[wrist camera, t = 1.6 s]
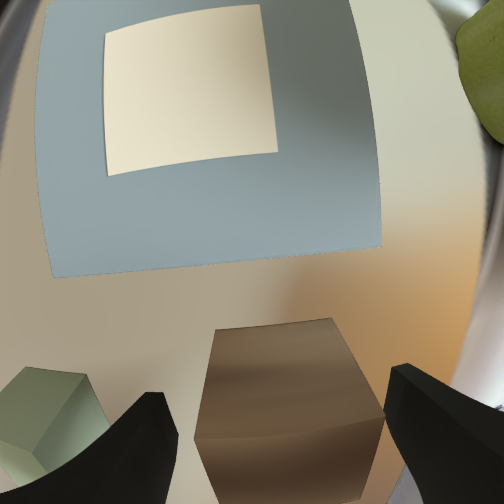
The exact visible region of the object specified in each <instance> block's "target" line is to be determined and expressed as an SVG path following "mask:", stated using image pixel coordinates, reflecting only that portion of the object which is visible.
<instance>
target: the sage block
mask: <svg viewBox="0 0 504 504" xmlns="http://www.w3.org/2000/svg"><path fill="white" fill-rule="evenodd" d="M110 427H111V425H110V424H109V422H108V420H107V418H106V416H105V414H104V412H103V410H102V408H101V405H100V403H99V401H98V399H97V397H96V395H95V392H94V390H93V388H92V386H91V383H90V381H89V379H88V377H87V374H83V373H72V372H63V371H54V370H47V369H40V368H33V367H25V368H24V369H23V370H22V371H21V372H20V373H19V374H18V375H17V376H16V377H15V378H14V379H13V380H12V381H11V382H10V383H9V384H8V385H7V386H6V387H5V388H4V389H3V390H2V391H1V392H0V466H1V467H2V468H3V469H4V471H5V472H6V473H7V474H8V475H9V476H10V477H11V479H12V480H13V481H14V482H15V483H16V484H17V485H18V486H19V487H21V486H23V485H26V484H28V483H31V482H33V481H35V480H37V479H39V478H41V477H43V476H44V475H46V474H48V473H50V472H52V471H54V470H56V469H57V468H59V467H60V466H62V465H64V464H65V463H67V462H68V461H70V460H71V459H72V458H74V457H75V456H77V455H78V454H79V453H81V452H82V451H83V450H84V449H86V448H87V447H88V446H89V445H90V444H91V443H93V442H94V441H95V440H96V439H97V438H99V437H100V436H101V435H102V434H103V433H104V432H105V431H106V430H108V429H109V428H110Z"/></svg>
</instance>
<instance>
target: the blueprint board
mask: <svg viewBox="0 0 504 504" xmlns="http://www.w3.org/2000/svg"><path fill="white" fill-rule="evenodd" d="M35 158H36V173H37V184H38V193H39V203H40V210H41V217H42V223H43V230H44V235H45V241H46V246H47V251H48V256H49V261H50V265H51V269H52V274H53V278H64V277H75V276H87V275H99V274H111V273H122V272H133V271H144V270H155V269H166V268H177V267H187V266H197V265H209V264H219V263H230V262H238V261H239V262H240V261H250V260H259V259H270V258H279V257H290V256H300V255H309V254H320V253H329V252H338V251H349V250H358V249H367V248H377V247H381V202H380V183H379V169H378V157H377V147H376V138H375V129H374V121H373V113H372V107H371V100H370V94H369V88H368V82H367V77H366V71H365V66H364V61H363V56H362V52H361V47H360V43H359V39H358V34H357V30H356V26H355V22H354V18H353V15H352V11H351V7H350V4H349V0H57V1H55V2H53V3H51V4H49V5H48V8H47V12H46V17H45V22H44V27H43V32H42V38H41V45H40V52H39V60H38V69H37V81H36V95H35Z"/></svg>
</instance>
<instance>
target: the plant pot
mask: <svg viewBox="0 0 504 504" xmlns="http://www.w3.org/2000/svg"><path fill="white" fill-rule="evenodd" d="M455 44H456V46H457V49H458V54H459V77H460V80H461V83H462V86H463V89H464V91H465V94H466V96H467V98H468V100H469V102H470V104H471V106H472V108H473V110H474V112H475V113H476V115H477V117H478V118H479V120H480V122H481V123H482V125H483V126H484V127H485V129H486V130H487V131H488V132H489V134H490V135H491V136H492V137H493V138H494V139H495V140H497V141H498V142H500V143H501V144H503V145H504V0H490V1H489V2H488V3H487V4H486V5H484V6H483V7H482V8H481V9H480V10H479V11H478V12H476V13H475V14H474V15H473V16H472V17H471V18H470V19H469V20H468V21H466V22H465V23H464V24H463V25H462V26H461V27H460V28H459V30H458V32H457V35H456V38H455Z"/></svg>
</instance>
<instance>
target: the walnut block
mask: <svg viewBox="0 0 504 504" xmlns="http://www.w3.org/2000/svg"><path fill="white" fill-rule="evenodd" d="M385 417H386V415H385V413H384V411H383V410H382V407H381V406H380V404H379V402H378V400H377V398H376V396H375V394H374V393H373V391H372V389H371V387H370V385H369V384H368V381H367V380H366V378H365V376H364V374H363V372H362V371H361V369H360V367H359V365H358V363H357V361H356V360H355V358H354V356H353V354H352V353H351V351H350V349H349V347H348V346H347V344H346V342H345V340H344V338H343V337H342V335H341V333H340V331H339V330H338V328H337V326H336V324H335V323H334V321H333V319H332V318H325V319H317V320H309V321H302V322H292V323H284V324H274V325H266V326H265V325H264V326H254V327H242V328H230V329H216V330H215V334H214V340H213V344H212V349H211V354H210V359H209V364H208V368H207V373H206V379H205V383H204V388H203V394H202V399H201V404H200V409H199V414H198V420H197V425H196V431H195V435H194V441H195V444H196V446H197V449H198V452H199V454H200V457H201V460H202V463H203V465H204V468H205V470H206V473H207V475H208V478H209V480H210V483H211V485H212V487H213V490H214V492H215V495H216V497H217V499H218V502H219V504H341V503H345V502H350V501H354V500H358V499H360V497H361V495H362V492H363V489H364V487H365V484H366V481H367V478H368V475H369V472H370V469H371V466H372V463H373V460H374V457H375V454H376V450H377V447H378V443H379V440H380V436H381V432H382V429H383V425H384V421H385Z"/></svg>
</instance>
